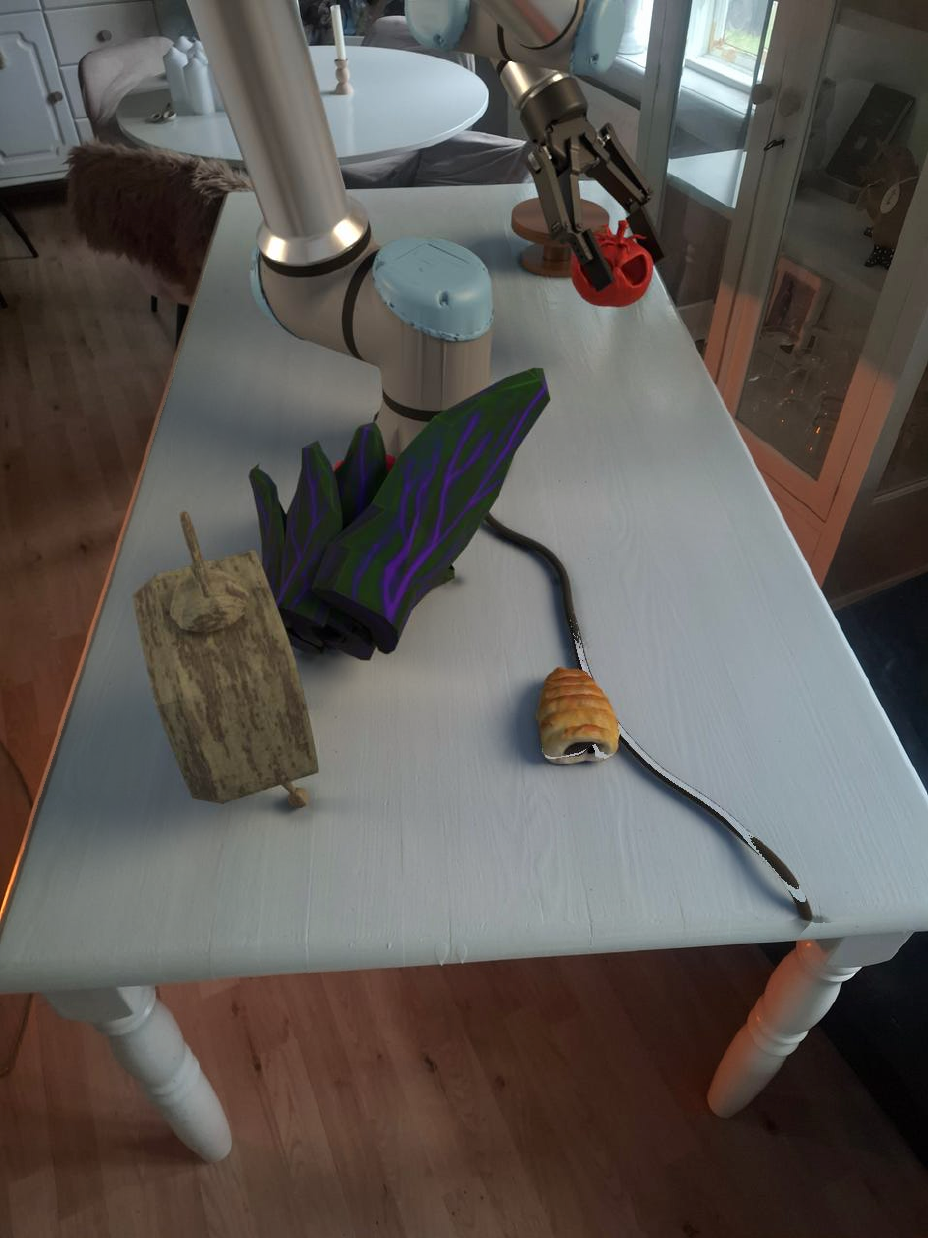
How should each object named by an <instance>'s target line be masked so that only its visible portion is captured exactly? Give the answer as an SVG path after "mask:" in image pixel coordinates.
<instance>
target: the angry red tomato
mask: <svg viewBox="0 0 928 1238" xmlns="http://www.w3.org/2000/svg"><path fill="white" fill-rule="evenodd" d="M629 225H630V224H629ZM629 225H628V222H627V221H626V219H619V220H618V221H617V229H616V232H615V234H614V233H613V231H611V228H610V225H609V226H608V225H602V226H598V227H606V234H605V233H604V234H601V233H593V235H598V236H597V237H595V239H596V241H597V243H598V245H599V247H600V249H601V251H602V253H603V255H604V257H605V259H606V261H607V263H608V265H609V267H610V269H611V271H612V273H613V275H614V277H615V279H616V281H614V282H613V283H611V284H610V285H608V286H607V287H606V288H604V289H603V290H601V291H599V292H596V290H595V288H594V286H593V284H592V282H591V280H590V278H589V276H588V274H587V272H586V270H585V268H584V266H582V265H581V264H580V263H579V261H578V259H577V257H576V255H575V253H574V252H573V254H572V258H571V276H570V277H571V282H572V285H573V287H574V288H575V290H576V292H577V294H579V296H580V297H581V299H582V300H584V301H585V302H586V303H587V304H589V305H592V306H596V307H603V308H606V307H609V308H624V307H628V306H631V305H633V304H635V303H636V302H637V301H639V300H640V299H642V298H643V297H644V296H645V294H646V292H647V290H648V288H649V286H650V284H651V282H652V279H653V275H654V273H653V272H654V265H653V260H652V257H651V255H650V254H649V252H648V251H646V250H645V249H644V248H643V247H641V246H640V245H639V244H638V243H637V242H636V240H634V239H635V238H639V239H646V237H642V236H640V235H637V234H634V235H633V234H632V235H629V236H627V237H626V236H625V233H626V231H627V230H628V228H630V227H629Z"/></svg>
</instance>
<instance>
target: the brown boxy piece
mask: <svg viewBox="0 0 928 1238" xmlns="http://www.w3.org/2000/svg"><path fill="white" fill-rule="evenodd" d="M179 521H180V525H181V530H182V534H183V537H184V539H185V543H186V546H187V549H188V553H189V556H190V559H191V563H190V565H188V566H184V567H180V568H176V569H171V570H168V571H164V572H160V573H155V574H154V575H152V576H151V578H150V579H148V581H147V582H145V583H144V584H143V585H142V586H141V587H140V588H139V589H138V590H137V591H136V592H135V593H133V594H132V600H133V601H132V602H133V607H134V612H135V618H136V622H137V627H138V633H139V638H140V643H141V648H142V652H143V656H144V661H145V666H146V670H147V674H148V679H149V684H150V689H151V693H152V696H153V700H154V703H155V707H156V710H157V713H158V716H159V719H160V723H161V724H162V725H161V726H162V727H163V731H164V732H165V735H166V738H167V741H168V743H169V746H170V748H171V751H172V753H173V756H174V758H175V762H176V764H177V767H178V769H179V770H180V771H179V772H180V773H181V776H182V778H183V780H184V782H185V783H184V784H185V785H186V788H187V790H188V793H189V794H190V796H191V797H192V799H195V800H200V801H205V802H209V803H216V804H220V805H224V804H227V803H229V802H233V801H236V800H239V799H241V798H245V797H248V796H250V795H254V794H257V793H260V792H262V791H266V790H269V789H273V788H275V787H279V786H282V787H283V789H285V790H286V791H287V792H288V793H289V794H288V803H289V804H290V805H291V806H292V807H293V808H295V809H302V808H304V807H306V806H307V804H308V803H309V802H310V794H309V792H308V791H307V790H306V789H305V788H304V787H298V786H297V787H295V786H294V785H293V781H297V780H301V779H304V778H307V777H309V776H313V775H315V774H318V773H319V769H320V767H319V763H318V756H317V750H316V745H315V744H316V743H315V739H314V738H315V737H314V734H313V729H312V724H311V720H310V714H309V711H308V706H307V701H306V696H305V692H304V688H303V684H302V679H301V676H300V675H301V674H300V672H299V667H298V664H297V661H296V657H295V655H294V651H293V648H292V646H291V645H290V642H289V639H288V636H287V633H286V630H285V627H284V625H283V622H282V619H281V616H280V613H279V611H278V608H277V605H276V602H275V599H274V596H273V594H272V591H271V588H270V586H269V583H268V580H267V578H266V575H265V573H264V570H263V567H262V561H261V560H260V557H259V555H258V553H257V551H256V549H253V550H248V551H245V552H244V551H243V552H240V553H236V554H232V555H227V556H224V557H221V558H216V559H212V560H208V561H206V560H205V559H204V558H203V555H202V553H201V552H202V551H201V549H200V545H199V540H198V537H197V534H196V530H195V526H194V524H193V521H192V518H191V516H190V513H189V512H188V511H187V510H182V511H181V512H180V513H179Z"/></svg>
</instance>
